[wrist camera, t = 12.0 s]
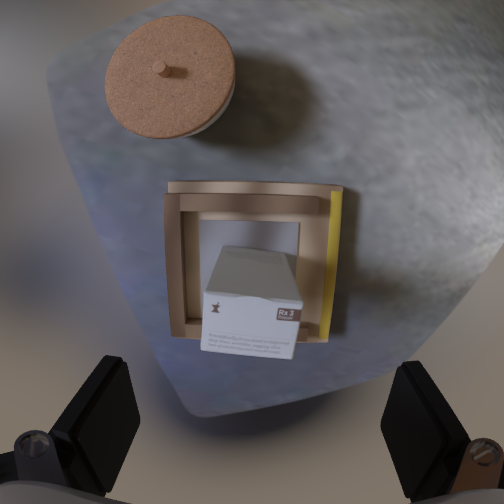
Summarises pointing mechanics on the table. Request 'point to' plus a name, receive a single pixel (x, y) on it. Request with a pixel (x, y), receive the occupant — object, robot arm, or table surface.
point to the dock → (251, 242)
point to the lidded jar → (171, 78)
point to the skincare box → (251, 305)
